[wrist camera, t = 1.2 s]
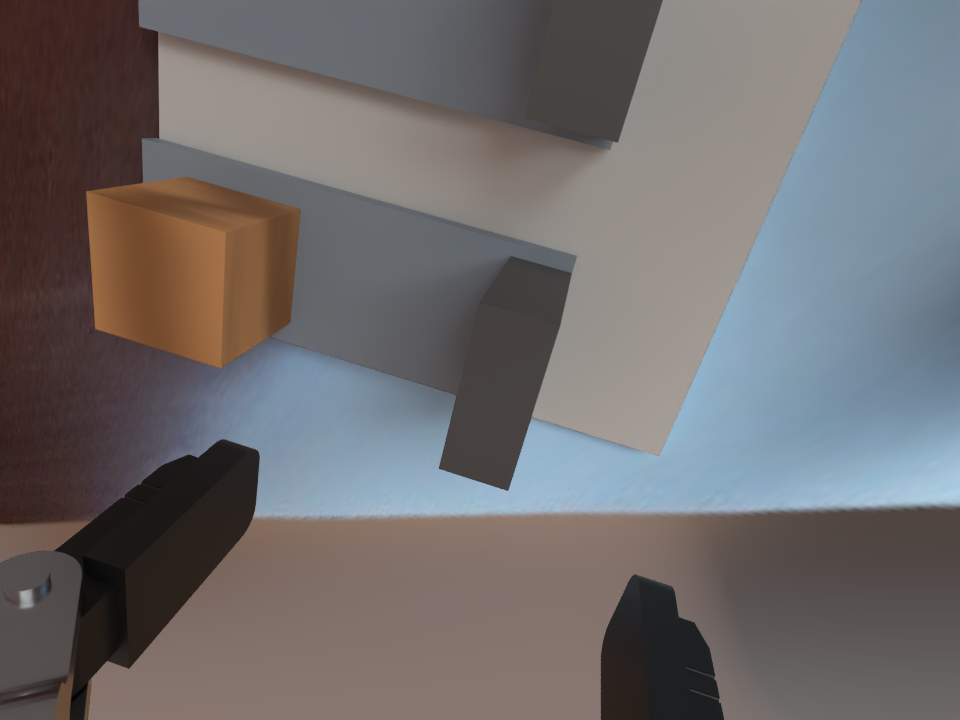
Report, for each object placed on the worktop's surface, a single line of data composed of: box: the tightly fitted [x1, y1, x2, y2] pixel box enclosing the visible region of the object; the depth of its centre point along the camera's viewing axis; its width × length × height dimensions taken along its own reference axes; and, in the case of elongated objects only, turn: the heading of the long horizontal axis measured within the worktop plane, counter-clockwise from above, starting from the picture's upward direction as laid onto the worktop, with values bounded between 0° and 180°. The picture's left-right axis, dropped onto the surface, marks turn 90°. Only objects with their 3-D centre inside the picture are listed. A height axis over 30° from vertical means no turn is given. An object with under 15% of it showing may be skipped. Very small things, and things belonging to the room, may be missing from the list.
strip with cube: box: [142, 138, 577, 491], centre depth 21 cm, size 18×7×7 cm, turn 77°
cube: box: [86, 177, 301, 368], centre depth 22 cm, size 5×5×5 cm
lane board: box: [158, 0, 862, 456], centre depth 22 cm, size 24×19×1 cm
